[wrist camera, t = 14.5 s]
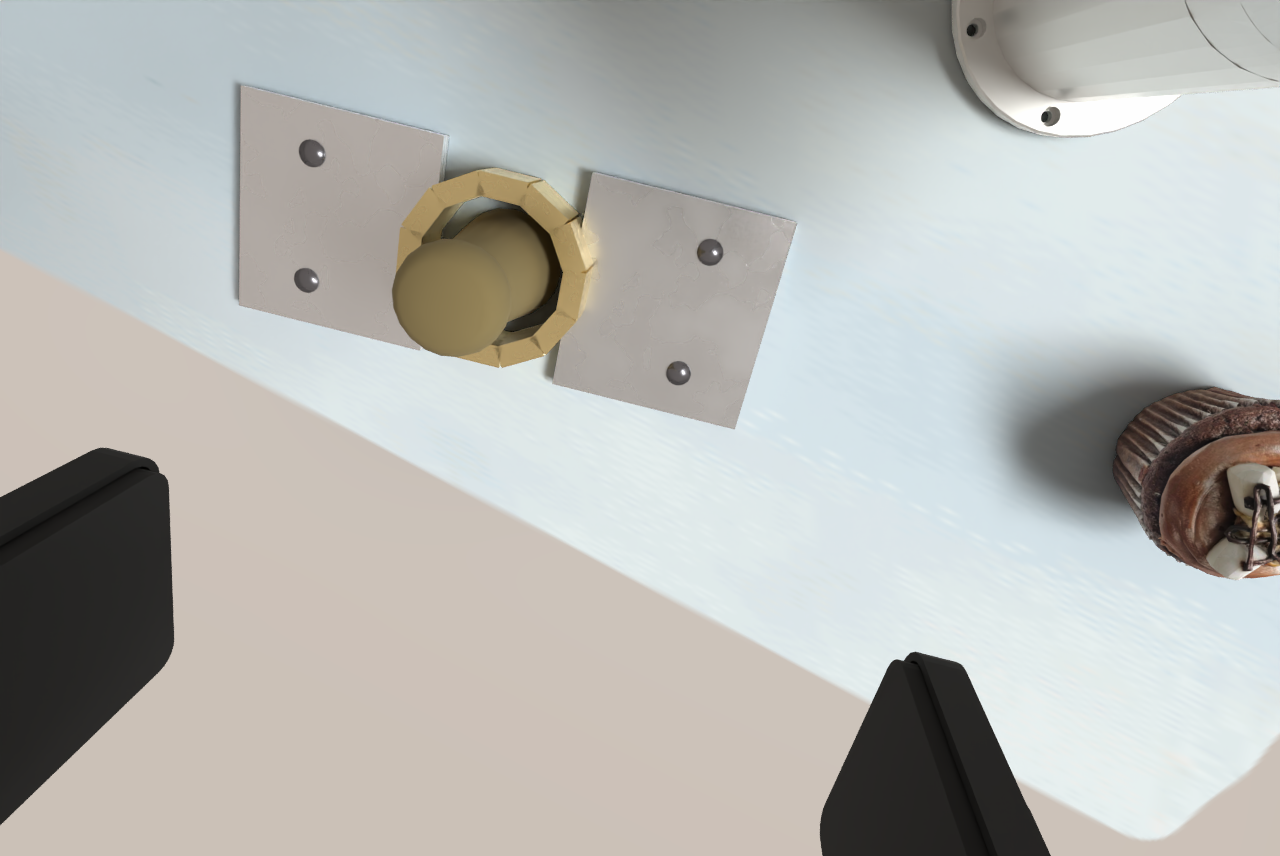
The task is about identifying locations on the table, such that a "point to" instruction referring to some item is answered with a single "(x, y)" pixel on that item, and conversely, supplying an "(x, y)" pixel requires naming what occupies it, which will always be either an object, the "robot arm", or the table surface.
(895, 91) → the table surface
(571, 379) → the mounting plate with ring
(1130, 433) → the cupcake
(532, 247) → the cork
